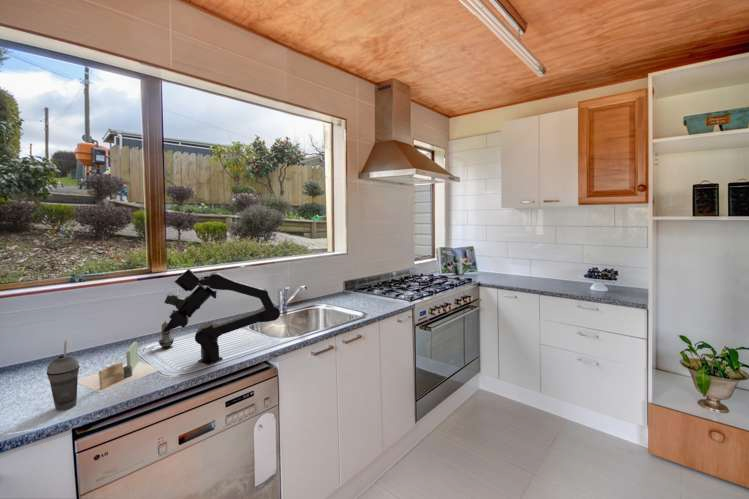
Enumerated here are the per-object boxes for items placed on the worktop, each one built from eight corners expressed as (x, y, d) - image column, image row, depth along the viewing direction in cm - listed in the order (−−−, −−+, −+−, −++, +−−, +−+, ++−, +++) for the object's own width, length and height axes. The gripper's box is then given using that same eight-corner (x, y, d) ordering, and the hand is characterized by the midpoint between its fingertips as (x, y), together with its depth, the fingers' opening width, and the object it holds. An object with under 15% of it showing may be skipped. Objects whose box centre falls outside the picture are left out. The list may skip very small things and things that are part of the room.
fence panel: (130, 373, 126) (129, 351, 126) (127, 373, 126) (126, 351, 125) (138, 361, 136) (137, 341, 136) (135, 362, 136) (133, 341, 135)
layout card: (162, 369, 130) (162, 369, 130) (99, 393, 113) (99, 392, 113) (135, 361, 138) (135, 360, 138) (73, 381, 121) (73, 380, 121)
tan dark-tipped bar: (128, 374, 126) (127, 357, 126) (133, 375, 126) (132, 358, 125) (98, 388, 115) (97, 370, 115) (104, 389, 115) (102, 371, 114)
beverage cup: (62, 401, 108) (57, 337, 106) (88, 400, 108) (83, 336, 107) (42, 415, 100) (36, 346, 99) (70, 413, 101) (64, 345, 99)
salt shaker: (167, 351, 149) (165, 323, 148) (155, 350, 150) (153, 322, 149) (177, 346, 154) (176, 319, 153) (166, 345, 156) (164, 318, 154)
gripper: (181, 281, 141) (151, 311, 138) (175, 290, 124) (139, 324, 121) (204, 299, 145) (175, 329, 142) (201, 310, 128) (167, 344, 125)
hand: (164, 331), depth 132 cm, fingers closed
